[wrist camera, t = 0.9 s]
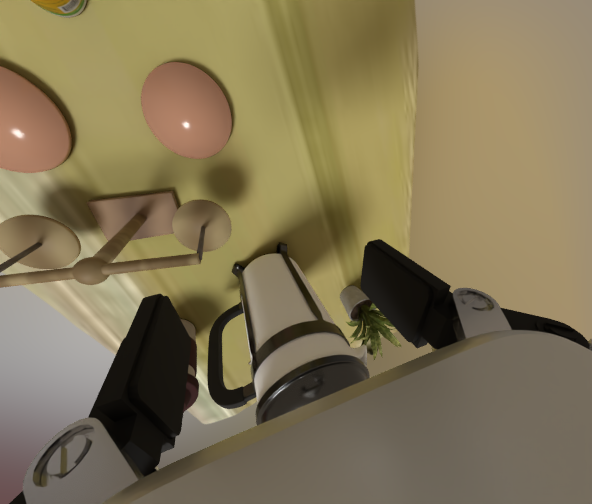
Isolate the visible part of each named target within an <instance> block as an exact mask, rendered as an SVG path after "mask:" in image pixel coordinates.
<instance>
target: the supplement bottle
mask: <svg viewBox="0 0 592 504" xmlns="http://www.w3.org/2000/svg"><path fill="white" fill-rule="evenodd" d="M31 1H32V2H34V3H35V4H36V5H38V6H39V7H41V8H43V9H44V10H46V11H48V12H50V13H52V14H54V15H57V16H60V17H74V16H77V15H79V14H80V13H81V12H82V11H83V10H84V8H85V5H86V0H31Z"/></svg>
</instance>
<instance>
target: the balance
mask: <svg viewBox="0 0 592 504" xmlns="http://www.w3.org/2000/svg"><path fill="white" fill-rule="evenodd" d="M87 205H88V207H89V208H90V210H91V212H92V214H93V215H94V217H95V219H96V221H97V223H98V224H99V226H100V228H101V230H102V231H103V233H104V235H105V237H106V238H107V240H108V242H107V243H106V244H105V245H104V246H103V247H102V248H101V249H100V250H99V251H98V252H97V253H96V254H95V255H94V256H93V257H89V258H85V259H82V260H80V261H78V262H77V263H76V264H75V265H74V267H72V268H63V269H57V268H61V267H64V266H67V265H69V264H70V263H72V262H73V261H74V260H75V259H76V258H77V257H78V256H79V254H80V251H81V245H80V241H79V239H78V237H77V236H76V235H75V233H74V232H73V231H72V230H71V229H69V228H68V227H67V226H65V225H64V224H62V223H60V222H58V221H56V220H54V219H51V218H48V217H44V216H39V215H20V216H16V217H13V218H10V219H8V220H6V221H4V222H2V223H1V224H0V249H1V250H2V251H3V252H4V253H5V254H6V255H7V256H8V257H10V258H11V259H9V260H7V261H6V262H4V263H2V264H1V265H0V272H2V271H3V270H5V269H6V268H8V267H10V266H11V265H13V264H14V263H16V262H19V263H21V264H23V265H26V266H29V267H33V268H39V269H54V270H45V271H36V272H28V273H19V274H10V275H1V276H0V287H9V286H18V285H26V284H35V283H43V282H52V281H60V280H69V279H76V280H77V281H78V282H80V283H82V284H86V285H94V284H99V283H101V282H103V281H105V280H106V279H107V278H108V277H109V275H111V274H119V273H128V272H136V271H145V270H153V269H162V268H170V267H179V266H187V265H196V264H200V263H201V260H202V254H203V252H207V251H213V250H216V249H218V248H220V247H221V246H223V245H224V244H225V243H226V242H227V241H228V239H229V237H230V234H231V221H230V218H229V216H228V214H227V213H226V211H225V210H224V209H223V208H222V207H221V206H219V205H218V204H216V203H214V202H211V201H208V200H192V201H189V202H187V203H185V204H183V205H182V206H181V207H180V208H179V207H178V204H177V202H176V199H175V196H174V193H173V191H167V192H158V193H150V194H141V195H132V196H124V197H115V198H106V199H98V200H91V201H89V202H87ZM173 233H174V234H175V236H176V238H177V239H178V240H179V242H181V243H182V244H183V245H184V246H186V247H187V248H189V249H192V250H195V251H197V253H196V254H187V255H178V256H169V257H160V258H152V259H143V260H134V261H125V262H116V263H112V261H113V260H114V259H115V258H116V257H117V255H118V254H119V253H120V252H121V250H122V249H123V248H124V247H125V246H126V244H127V243H128V242H129V241H130V240H136V239H142V238H148V237H154V236H160V235H167V234H173Z"/></svg>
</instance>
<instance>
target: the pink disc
mask: <svg viewBox="0 0 592 504" xmlns="http://www.w3.org/2000/svg"><path fill="white" fill-rule="evenodd" d="M141 103H142V109H143V113H144V117H145V119H146V121H147V124H148V126H149V127H150V129H151V131H152V132H153V134H154V135H155V136H156V137H157V139H158V140H159V141H160V142H161V143H162V144H163V145H165V146H166V147H167V148H168V149H170V150H171V151H173V152H175V153H177V154H179V155H181V156H184V157H187V158H193V159H203V158H208V157H211V156H213V155H215V154H216V153H218V152H219V151H220V150H221V149H222V148H223V147H224V146H225V145H226V143H227V141H228V139H229V136H230V133H231V126H232V119H231V112H230V108H229V105H228V102H227V100H226V97H225V95H224V94H223V92H222V90H221V89H220V87H219V86H218V85H217V84H216V82H215V81H214V80H213V79H212V78H211V77H210V76H208V75H207V74H206V73H205V72H203V71H202V70H200V69H198V68H196V67H194V66H192V65H189V64H185V63H180V62H170V63H165V64H162V65H160V66H158V67H157V68H155V69H154V70H153V71H152V72H151V73H150V74H149V75H148V77H147V78H146V80H145V82H144V85H143V88H142V95H141Z"/></svg>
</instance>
